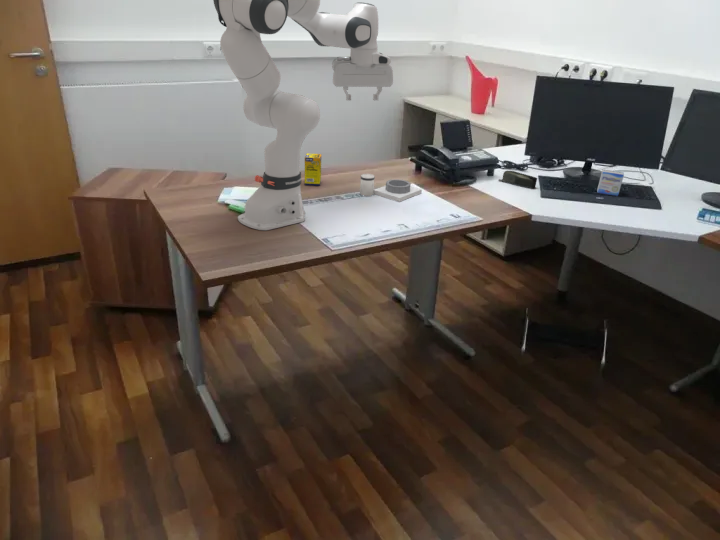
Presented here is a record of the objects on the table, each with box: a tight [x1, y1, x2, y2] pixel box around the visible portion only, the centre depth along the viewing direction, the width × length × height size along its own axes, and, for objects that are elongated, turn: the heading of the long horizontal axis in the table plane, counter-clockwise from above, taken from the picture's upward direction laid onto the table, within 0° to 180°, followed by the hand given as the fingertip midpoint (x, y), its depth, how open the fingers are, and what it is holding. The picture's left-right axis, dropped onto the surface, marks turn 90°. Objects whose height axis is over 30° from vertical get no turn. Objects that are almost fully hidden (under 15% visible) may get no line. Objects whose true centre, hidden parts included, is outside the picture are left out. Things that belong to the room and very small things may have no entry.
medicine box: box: [596, 169, 625, 197], centre depth 216 cm, size 8×4×9 cm, turn 68°
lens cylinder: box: [359, 173, 375, 197], centre depth 203 cm, size 5×5×7 cm
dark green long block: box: [498, 170, 538, 190], centre depth 222 cm, size 5×3×15 cm
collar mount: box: [373, 178, 423, 203], centre depth 206 cm, size 14×12×4 cm
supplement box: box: [304, 153, 322, 187], centre depth 210 cm, size 6×6×11 cm
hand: (362, 100), depth 189 cm, fingers open, 8 cm apart
